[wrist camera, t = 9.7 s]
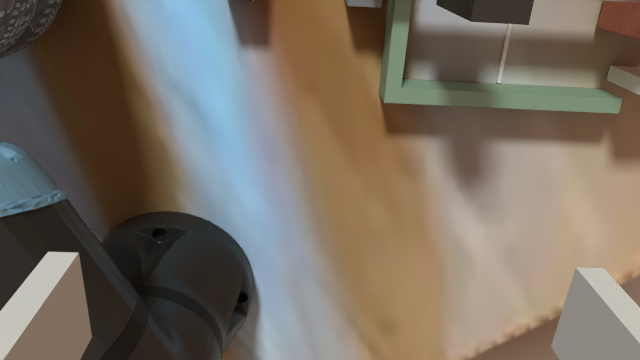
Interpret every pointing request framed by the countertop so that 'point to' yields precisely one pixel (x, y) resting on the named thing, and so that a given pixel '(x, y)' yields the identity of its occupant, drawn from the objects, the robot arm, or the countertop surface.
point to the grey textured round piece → (24, 22)
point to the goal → (625, 77)
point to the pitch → (468, 92)
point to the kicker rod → (516, 5)
